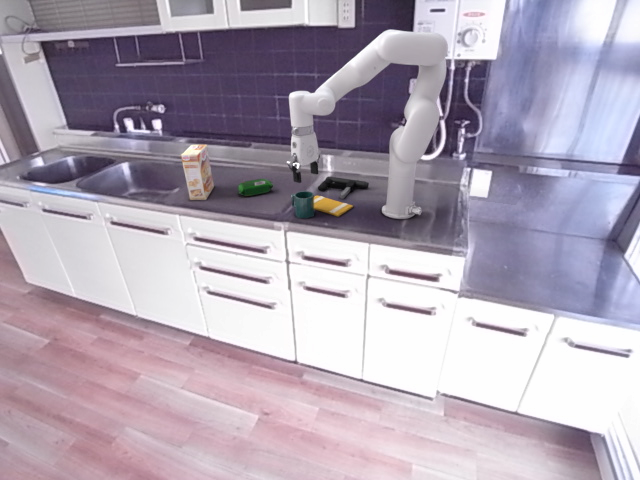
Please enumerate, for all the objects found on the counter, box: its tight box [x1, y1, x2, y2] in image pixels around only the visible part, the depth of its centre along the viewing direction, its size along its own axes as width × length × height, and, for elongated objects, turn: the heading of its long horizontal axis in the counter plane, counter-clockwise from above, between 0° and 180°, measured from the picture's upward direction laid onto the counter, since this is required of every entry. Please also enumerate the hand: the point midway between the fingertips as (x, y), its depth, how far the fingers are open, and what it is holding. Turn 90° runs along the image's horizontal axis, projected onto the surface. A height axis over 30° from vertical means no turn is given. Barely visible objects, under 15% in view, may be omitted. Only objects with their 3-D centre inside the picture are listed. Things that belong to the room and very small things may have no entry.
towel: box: [314, 195, 354, 217], centre depth 149 cm, size 18×10×1 cm, turn 52°
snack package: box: [237, 178, 274, 197], centre depth 161 cm, size 7×16×5 cm, turn 112°
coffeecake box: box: [180, 144, 215, 201], centre depth 159 cm, size 15×7×20 cm, turn 0°
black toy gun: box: [317, 176, 370, 200], centre depth 162 cm, size 3×20×16 cm
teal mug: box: [291, 190, 315, 219], centre depth 142 cm, size 10×7×8 cm
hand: (306, 177), depth 136 cm, fingers open, 9 cm apart
